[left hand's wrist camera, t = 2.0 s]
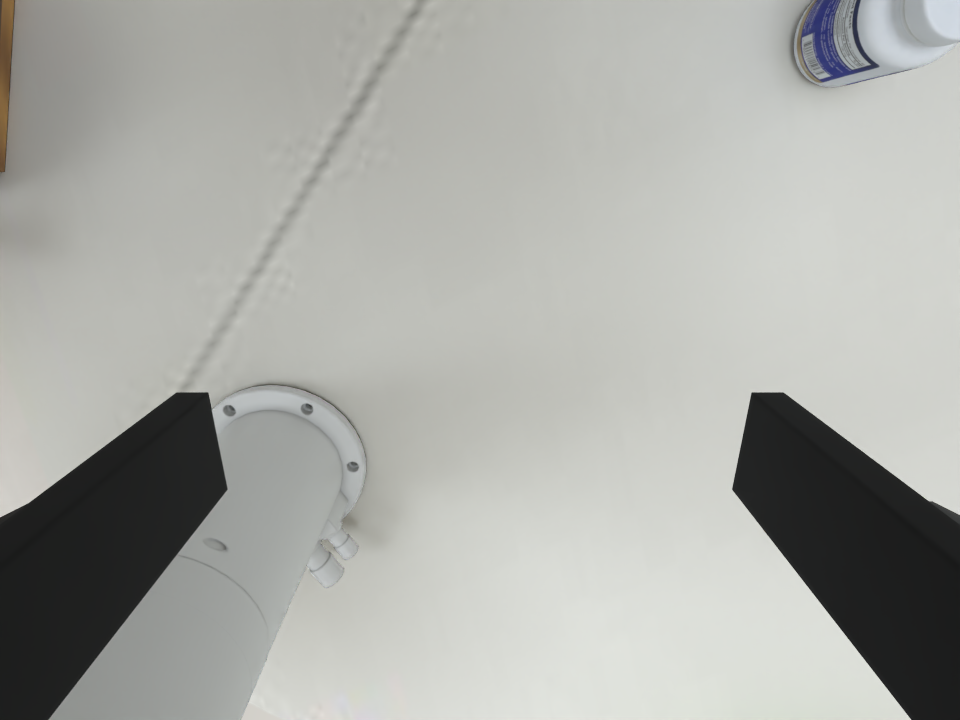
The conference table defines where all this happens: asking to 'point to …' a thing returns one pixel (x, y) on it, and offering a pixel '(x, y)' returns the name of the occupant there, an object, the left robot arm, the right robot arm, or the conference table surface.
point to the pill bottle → (872, 38)
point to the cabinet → (5, 71)
